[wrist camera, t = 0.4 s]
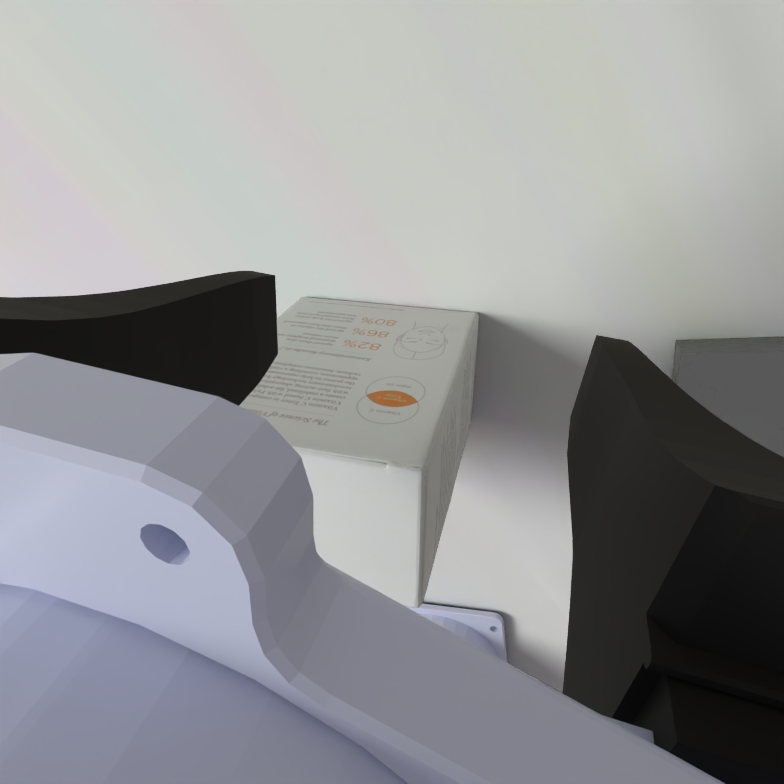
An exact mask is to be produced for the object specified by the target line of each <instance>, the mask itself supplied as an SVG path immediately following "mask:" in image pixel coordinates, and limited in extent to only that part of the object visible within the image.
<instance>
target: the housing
mask: <svg viewBox="0 0 784 784" xmlns="http://www.w3.org/2000/svg"><path fill="white" fill-rule="evenodd" d="M672 381H673V382H674V383H676V384H677V385H678V386H679V387H680V388H681V389H682V390H684V391H685V392H686V393H687V394H688V395H690V396H691V397H692V398H693V399H695V400H696V401H697V402H698V403H700V404H701V405H702V406H703V407H705V408H706V409H707V410H709V411H710V412H711V413H713V414H714V415H715V416H717V417H718V418H720V419H721V420H722V421H724V422H725V423H727V424H729V425H730V426H732V427H733V428H735V429H736V430H738V431H739V432H741V433H742V434H744V435H745V436H747V437H749V438H750V439H752V440H753V441H755V442H757V443H759V444H760V445H762V446H764V447H765V448H767V449H769V450H771V451H773V452H774V453H776V454H778V455H780V456H782V457H784V337H761V338H730V339H699V340H676V345H675V356H674V367H673V377H672Z"/></svg>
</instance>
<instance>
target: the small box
mask: <svg viewBox="0 0 784 784" xmlns="http://www.w3.org/2000/svg"><path fill="white" fill-rule="evenodd" d="M478 323H479V315H478V313H475V312H463V311H450V310H441V309H429V308H419V307H407V306H396V305H385V304H374V303H363V302H352V301H340V300H330V299H319V298H310V297H301V298H300V299H299V300H298V301H296V302H295V303H294V304H293V305H292V306H291V307H289V308H288V309H287V310H286V311H285V312H284V313H283V314H282V315H280V316H279V317H278V318H277V339H278V355H277V356H276V358H275V360H274V361H273V363H272V364H271V366H270V368H269V369H268V371H267V372H266V374H265V375H264V377H263V378H262V380H261V381H260V383H259V384H258V385H257V386H256V387H255V389H254V390H253V391H252V392H251V393H250V394H249V395H248V396H247V397H246V399H245V400H244V401H243V402H242V403H241V404H240V405H239V406H240V407H242V408H244V409H246V410H248V411H250V412H253V413H255V414H257V415H259V416H261V417H263V418H265V419H267V420H268V422H269V423H270V424H271V425H272V426H273V427H274V428H275V429H276V430H277V431H278V432H279V433H280V434H281V436H282V437H283V438H284V439H285V440H286V441H287V442H288V443H289V444H290V445H291V446H292V447H293V448H294V449H295V451H296V452H297V453H298V454H299V455H300V456H301V458H302V461H303V464H304V468H305V471H306V474H307V477H308V480H309V484H310V487H311V490H312V493H313V535H314V541H315V546H316V552H317V553H318V555H319V556H320V557H321V558H322V559H323V560H324V561H325V562H326V563H328V564H330V565H332V566H333V567H335V568H337V569H339V570H341V571H342V572H344V573H346V574H348V575H350V576H351V577H353V578H355V579H357V580H359V581H360V582H362V583H364V584H366V585H368V586H370V587H371V588H373V589H375V590H377V591H379V592H380V593H382V594H384V595H386V596H388V597H389V598H391V599H393V600H395V601H397V602H398V603H400V604H402V605H405V606H409V607H412V608H419V607H420V606H421V605H422V603H423V601H424V597H425V593H426V590H427V586H428V582H429V578H430V574H431V571H432V567H433V563H434V559H435V555H436V551H437V548H438V544H439V540H440V536H441V533H442V529H443V525H444V522H445V518H446V514H447V511H448V507H449V504H450V501H451V496H452V492H453V488H454V484H455V480H456V476H457V472H458V469H459V465H460V461H461V458H462V454H463V450H464V446H465V442H466V438H467V434H468V430H469V426H470V422H471V413H472V403H473V391H474V378H475V366H476V353H477V340H478Z"/></svg>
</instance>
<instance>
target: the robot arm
mask: <svg viewBox="0 0 784 784" xmlns="http://www.w3.org/2000/svg"><path fill="white" fill-rule="evenodd" d="M277 355H278V339H277V314H276V289H275V275H270V274H264V273H259V272H253V271H237V272H228V273H222V274H216V275H210V276H205V277H200V278H194V279H189V280H184V281H179V282H174V283H168V284H162V285H156V286H150V287H144V288H139V289H133V290H126V291H119V292H110V293H101V294H90V295H79V296H58V297H23V298H8V297H0V784H784V457H782V456H780V455H778V454H776V453H774V452H773V451H771V450H769V449H767V448H765V447H764V446H762V445H760V444H759V443H757V442H755V441H753V440H752V439H750V438H749V437H747V436H745V435H744V434H742V433H741V432H739V431H738V430H736V429H735V428H733V427H732V426H730V425H729V424H727V423H725V422H724V421H722V420H721V419H720V418H718V417H717V416H715V415H714V414H713V413H711V412H710V411H709V410H707V409H706V408H705V407H703V406H702V405H701V404H700V403H698V402H697V401H696V400H695V399H693V398H692V397H691V396H690V395H688V394H687V393H686V392H685V391H684V390H682V389H681V388H680V387H679V386H678V385H677V384H676V383H674V382H673V381H672V380H671V379H670V378H669V377H668V376H667V375H666V374H664V373H663V372H662V371H661V370H660V369H659V368H658V367H657V366H656V365H655V364H654V363H653V362H652V361H651V360H650V359H648V358H647V357H646V356H645V355H644V354H643V353H642V352H641V351H640V350H639V349H638V348H636V347H635V346H634V345H633V344H632V343H630V342H628V341H625V340H620V339H614V338H609V337H603V336H598V335H596V338H595V341H594V345H593V348H592V351H591V354H590V357H589V360H588V364H587V367H586V370H585V373H584V376H583V379H582V383H581V386H580V389H579V392H578V395H577V398H576V402H575V405H574V408H573V411H572V414H571V419H570V429H569V439H568V451H567V457H568V475H569V490H570V505H571V520H572V535H573V563H572V581H571V598H570V612H569V625H568V639H567V651H566V662H565V673H564V685H563V693H561V692H559V691H557V690H555V689H554V688H552V687H550V686H548V685H546V684H545V683H543V682H541V681H539V680H537V679H536V678H534V677H532V676H530V675H528V674H527V673H525V672H523V671H521V670H519V669H518V668H516V667H514V666H512V665H510V664H508V662H507V652H506V642H505V632H504V622H503V617H502V616H501V615H500V614H498V613H494V612H487V611H479V610H471V609H463V608H455V607H447V606H439V605H431V604H423V603H422V605H421V606H420V607H419V608H412V607H409V606H405V605H402V604H400V603H398V602H397V601H395V600H393V599H391V598H389V597H388V596H386V595H384V594H382V593H380V592H379V591H377V590H375V589H373V588H371V587H370V586H368V585H366V584H364V583H362V582H360V581H359V580H357V579H355V578H353V577H351V576H350V575H348V574H346V573H344V572H342V571H341V570H339V569H337V568H335V567H333V566H332V565H330V564H328V563H326V562H325V561H324V560H323V559H322V558H321V557H320V556H319V555H318V553H317V552H316V546H315V541H314V535H313V493H312V490H311V487H310V484H309V480H308V477H307V474H306V471H305V468H304V464H303V461H302V458H301V456H300V455H299V454H298V453H297V452H296V451H295V449H294V448H293V447H292V446H291V445H290V444H289V443H288V442H287V441H286V440H285V439H284V438H283V437H282V436H281V434H280V433H279V432H278V431H277V430H276V429H275V428H274V427H273V426H272V425H271V424H270V423H269V422H268V420H267V419H265V418H263V417H261V416H259V415H257V414H255V413H253V412H250V411H248V410H246V409H244V408H242V407H240V406H239V405H240V404H241V403H242V402H243V401H244V400H245V399H246V397H247V396H248V395H249V394H250V393H251V392H252V391H253V390H254V389H255V387H256V386H257V385H258V384H259V383H260V381H261V380H262V378H263V377H264V375H265V374H266V372H267V371H268V369H269V368H270V366H271V364H272V363H273V361H274V360H275V358H276V356H277Z"/></svg>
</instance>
